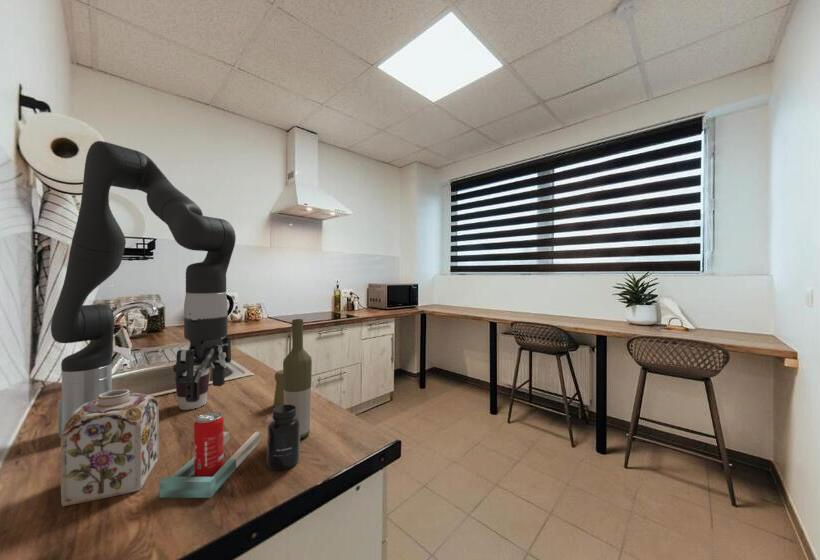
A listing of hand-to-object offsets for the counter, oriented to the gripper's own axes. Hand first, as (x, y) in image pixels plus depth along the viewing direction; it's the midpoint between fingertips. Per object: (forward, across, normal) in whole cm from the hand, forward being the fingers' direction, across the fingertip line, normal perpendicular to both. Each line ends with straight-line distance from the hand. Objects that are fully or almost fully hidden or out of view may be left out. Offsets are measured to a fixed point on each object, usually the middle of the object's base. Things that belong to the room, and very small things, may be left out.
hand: (206, 392), depth 66 cm
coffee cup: (+18, -35, -26) cm, 47 cm away
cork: (+18, -36, +2) cm, 40 cm away
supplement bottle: (+17, -5, +14) cm, 23 cm away
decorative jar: (+18, +2, -17) cm, 24 cm away
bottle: (+17, -17, +13) cm, 28 cm away
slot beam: (+17, -4, 0) cm, 18 cm away
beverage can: (+18, -1, 0) cm, 18 cm away
